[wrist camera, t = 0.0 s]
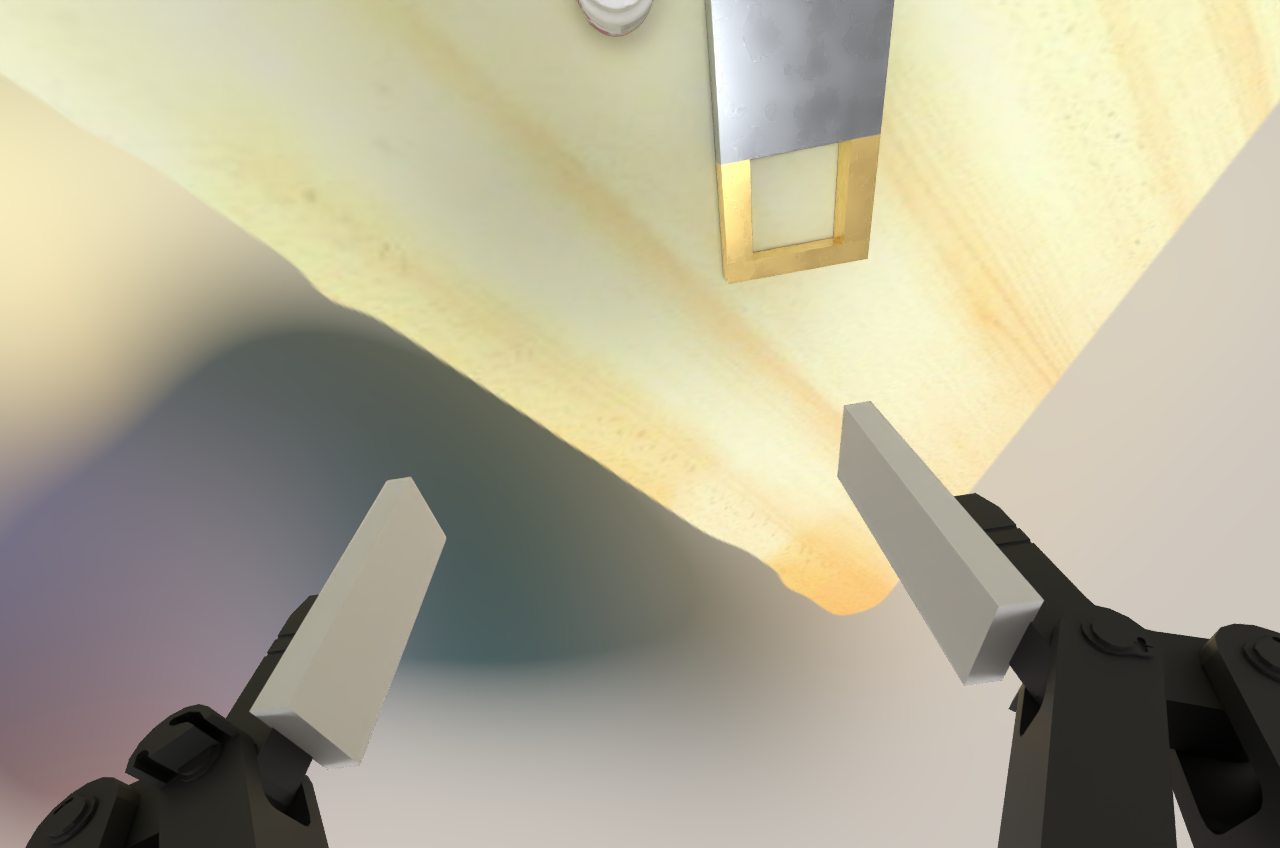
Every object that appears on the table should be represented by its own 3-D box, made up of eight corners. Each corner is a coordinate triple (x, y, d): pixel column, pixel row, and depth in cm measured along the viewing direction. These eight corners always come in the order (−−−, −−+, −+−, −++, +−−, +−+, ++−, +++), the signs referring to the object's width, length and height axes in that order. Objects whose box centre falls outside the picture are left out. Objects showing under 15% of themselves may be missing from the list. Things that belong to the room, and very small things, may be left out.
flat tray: (694, -154, 26) (700, -172, 24) (897, -202, 25) (917, -223, 24) (723, 276, 39) (728, 283, 38) (856, 252, 39) (867, 258, 37)
